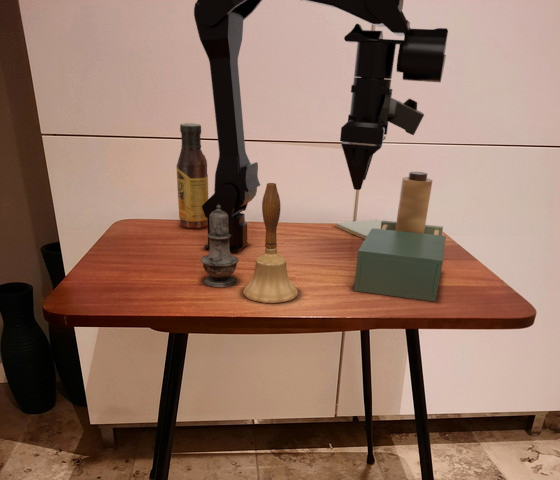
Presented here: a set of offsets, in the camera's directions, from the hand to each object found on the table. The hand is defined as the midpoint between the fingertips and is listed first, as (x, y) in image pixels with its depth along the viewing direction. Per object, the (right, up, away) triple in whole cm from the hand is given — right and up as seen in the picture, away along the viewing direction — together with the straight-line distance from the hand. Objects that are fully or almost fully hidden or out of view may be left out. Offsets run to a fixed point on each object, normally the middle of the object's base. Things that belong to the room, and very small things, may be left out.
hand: (359, 184), depth 91 cm
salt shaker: (-23, -17, -4) cm, 29 cm away
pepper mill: (+10, -9, +7) cm, 15 cm away
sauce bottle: (-31, 0, +25) cm, 40 cm away
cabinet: (+6, -16, -1) cm, 18 cm away
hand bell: (-15, -20, -8) cm, 26 cm away
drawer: (+10, -10, +9) cm, 16 cm away
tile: (+6, -1, +27) cm, 27 cm away
